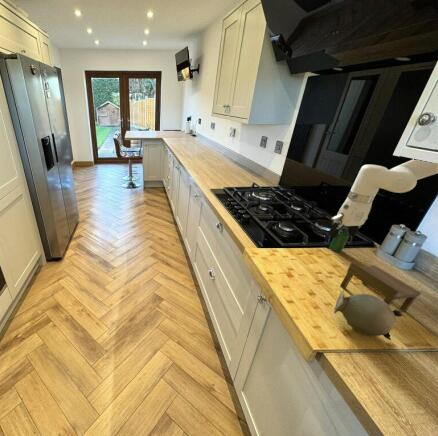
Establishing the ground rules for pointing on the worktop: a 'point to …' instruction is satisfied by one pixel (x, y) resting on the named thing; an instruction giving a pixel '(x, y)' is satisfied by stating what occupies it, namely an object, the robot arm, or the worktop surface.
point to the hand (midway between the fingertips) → (341, 235)
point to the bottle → (340, 240)
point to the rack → (382, 284)
